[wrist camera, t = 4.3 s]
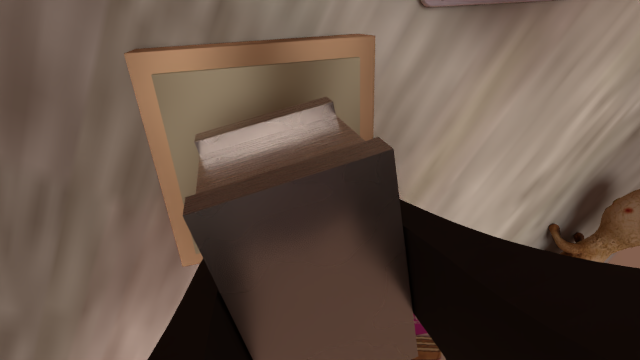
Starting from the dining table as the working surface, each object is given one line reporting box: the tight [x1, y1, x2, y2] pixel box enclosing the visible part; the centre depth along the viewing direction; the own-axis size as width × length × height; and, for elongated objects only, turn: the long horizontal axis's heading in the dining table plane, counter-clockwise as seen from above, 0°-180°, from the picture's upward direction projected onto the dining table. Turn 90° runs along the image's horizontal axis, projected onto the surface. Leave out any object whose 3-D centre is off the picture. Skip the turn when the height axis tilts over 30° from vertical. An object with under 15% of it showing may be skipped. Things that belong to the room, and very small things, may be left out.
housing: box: [183, 97, 418, 360], centre depth 10 cm, size 4×6×5 cm, turn 14°
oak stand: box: [124, 34, 375, 267], centre depth 17 cm, size 10×10×2 cm
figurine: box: [549, 189, 640, 263], centre depth 26 cm, size 4×5×15 cm
